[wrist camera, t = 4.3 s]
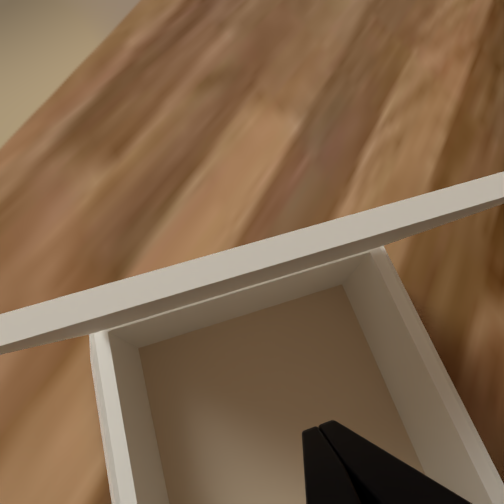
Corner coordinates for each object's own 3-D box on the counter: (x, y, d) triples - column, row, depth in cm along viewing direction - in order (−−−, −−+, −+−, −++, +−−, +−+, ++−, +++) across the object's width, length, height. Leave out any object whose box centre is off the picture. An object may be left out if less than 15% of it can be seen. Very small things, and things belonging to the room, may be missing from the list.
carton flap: (378, 247, 15) (619, 162, 6) (96, 332, 13) (-132, 385, 4) (374, 236, 15) (608, 136, 6) (93, 319, 13) (-138, 344, 4)
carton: (560, 661, 14) (722, 791, 9) (174, 870, 12) (131, 1182, 7) (372, 267, 20) (412, 226, 16) (94, 353, 18) (43, 336, 13)
